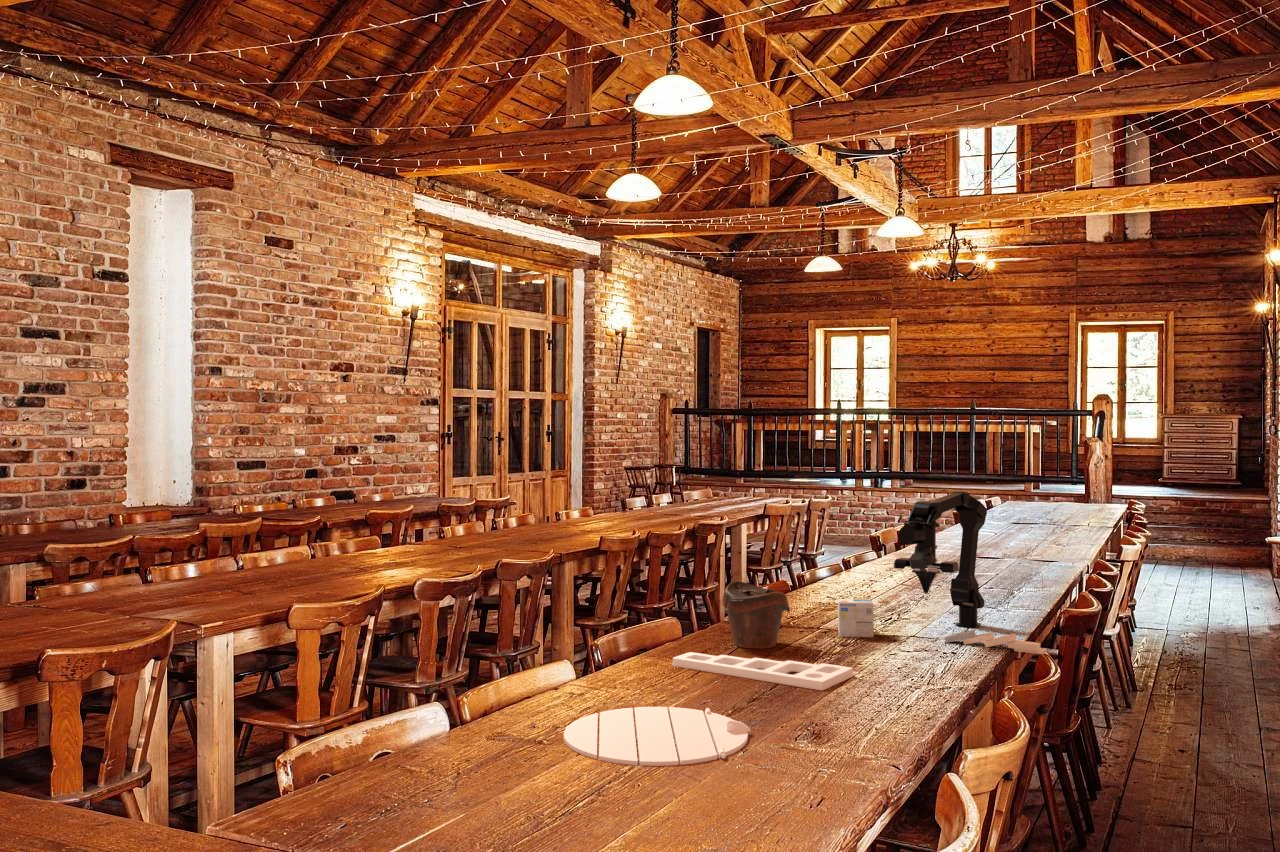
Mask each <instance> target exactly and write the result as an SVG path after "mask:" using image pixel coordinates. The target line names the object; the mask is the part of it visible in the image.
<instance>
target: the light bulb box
mask: <svg viewBox="0 0 1280 852" xmlns="http://www.w3.org/2000/svg"><path fill="white" fill-rule="evenodd" d="M874 615H875V614H874V601H873V600H872V599H871V598H868V599H866V598H865V599H857V598H856V599H848V598H847V599H845V598H843V599H841V598H837V630H838V632H837V633H838V634H837V635H838V636H839V638H842V637H843V638H845V637H846V638H874V636H875V631H874V630H875V629H874V627H875V625H874V624H875V623H874V619H875V618H874Z"/></svg>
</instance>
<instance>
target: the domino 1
mask: <svg viewBox="0 0 1280 852" xmlns="http://www.w3.org/2000/svg"><path fill="white" fill-rule="evenodd" d="M975 635H976V632H975V629H973V630H972V629H971V630H967V631H962V632H957V633H951V634H947V635H946V636H945V637H944V640H945V643H946V644H947V643H952V642H958V641H963V639H968V638H973V637H974V636H975Z"/></svg>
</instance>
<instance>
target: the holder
mask: <svg viewBox="0 0 1280 852" xmlns="http://www.w3.org/2000/svg"><path fill="white" fill-rule="evenodd" d="M672 667H675V668H676V667H677V668H683V669H688V670H694V671H695V670H696V671H702V672H708V673H715V674H719V675H726V676H730V677H738V678H743V679H750V680H756V681H761V682H768V683H773V684H779V685H780V684H781V685H786V686H793V687H798V688H802V689H803V688H805V689H811V690H817V691H825V690H827V689H829V688H831V687H832V686H835V685H837V684H841V682H844V681H846V680H848V679H850V678H852V677H853V676H854V675H853V674H854V671H853V669H854V668H853V667H851V666H844V665H839V664H830V663H825V662H823V663H822V662H821V663H819V664H816V663H808V662H802V661H796V660H789V659H788V660H785V661H780V660H773V659H768V658H763V657H762V658H760V657H752V658H747V657H746V658H745V657H740V656H733V655H727V654H719V655H714V654H712V655H711V654H707V653H706V654H705V653H700V652H693V651H690V652H686V653H682V654H680V655H679V654H678V655H677V656H674V657H672ZM791 672H796V674H792V673H791ZM789 673H791V674H789Z"/></svg>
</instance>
